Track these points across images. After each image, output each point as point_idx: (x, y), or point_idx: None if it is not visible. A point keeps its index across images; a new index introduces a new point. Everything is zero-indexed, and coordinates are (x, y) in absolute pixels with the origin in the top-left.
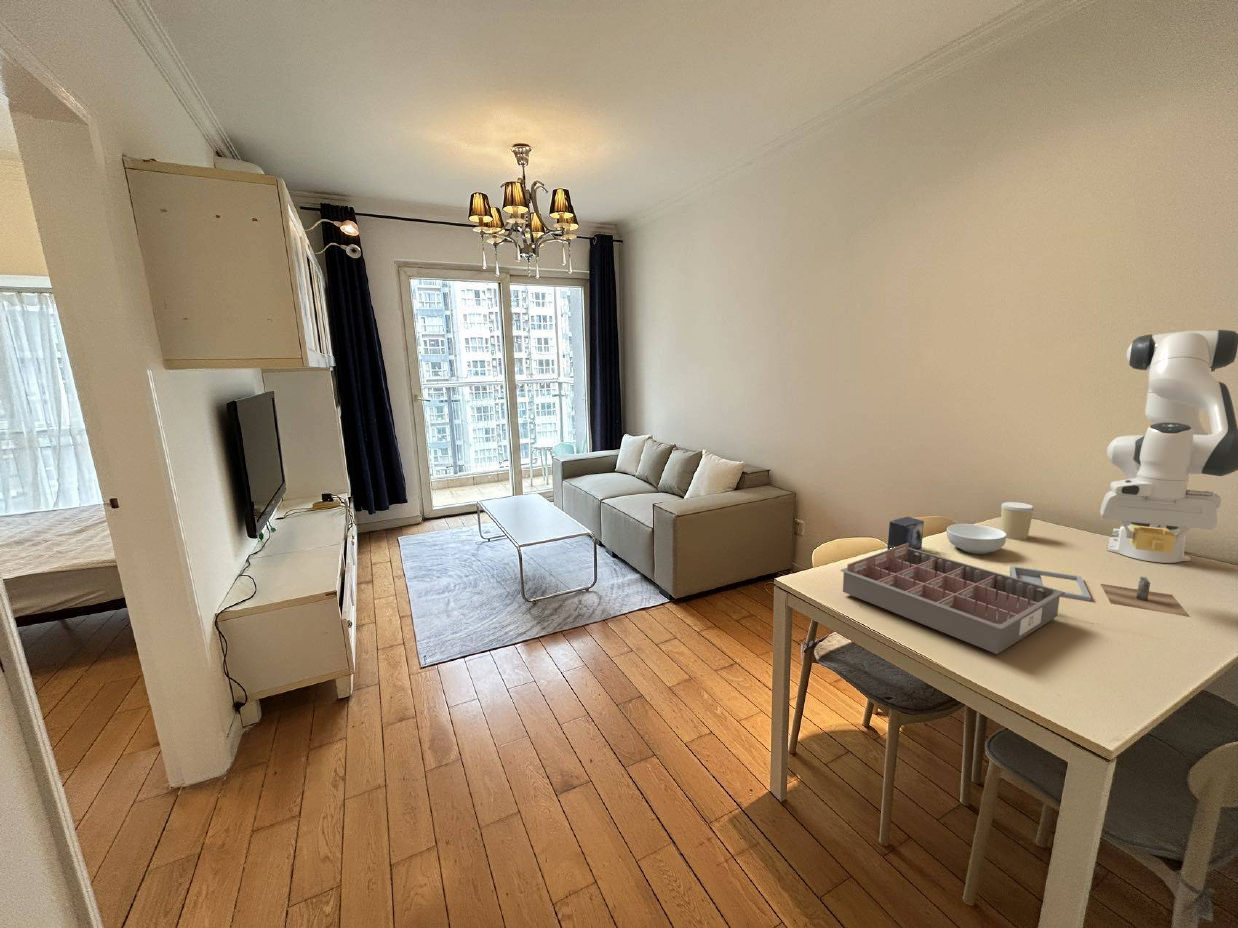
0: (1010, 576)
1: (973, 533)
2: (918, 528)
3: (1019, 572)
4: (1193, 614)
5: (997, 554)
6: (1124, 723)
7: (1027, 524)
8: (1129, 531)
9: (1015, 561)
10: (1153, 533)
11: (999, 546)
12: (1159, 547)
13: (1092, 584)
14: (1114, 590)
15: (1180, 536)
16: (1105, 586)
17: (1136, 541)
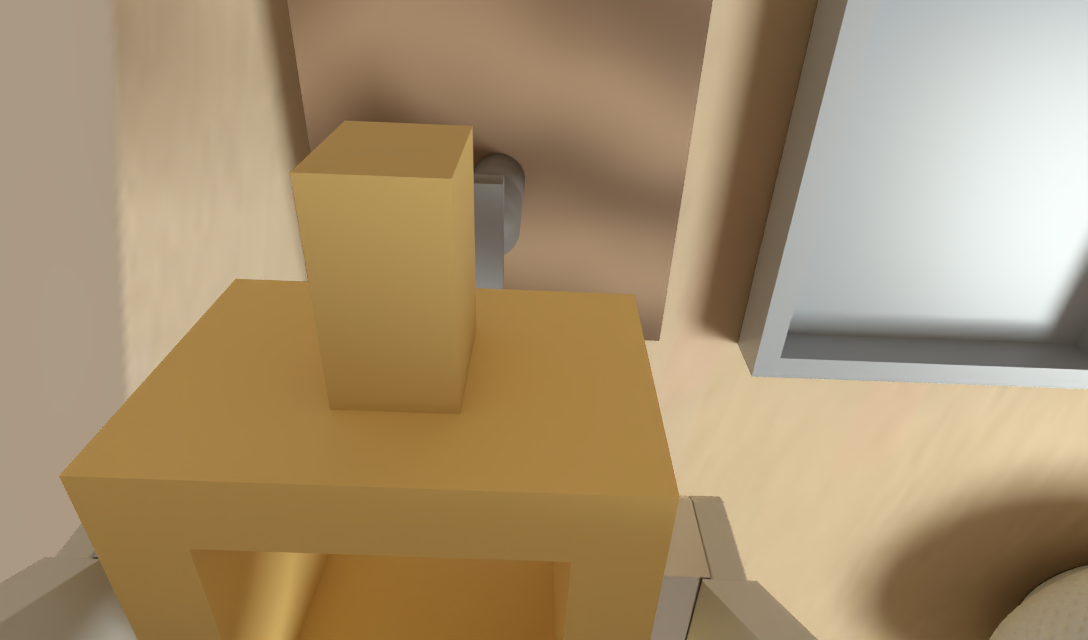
0: None
1: None
2: None
3: (1058, 349)
4: (266, 133)
5: (989, 587)
6: None
7: None
8: (729, 586)
9: (941, 533)
10: (421, 514)
11: (1058, 611)
12: (385, 140)
13: (669, 370)
14: (614, 259)
15: (45, 571)
16: (643, 307)
17: (646, 378)
